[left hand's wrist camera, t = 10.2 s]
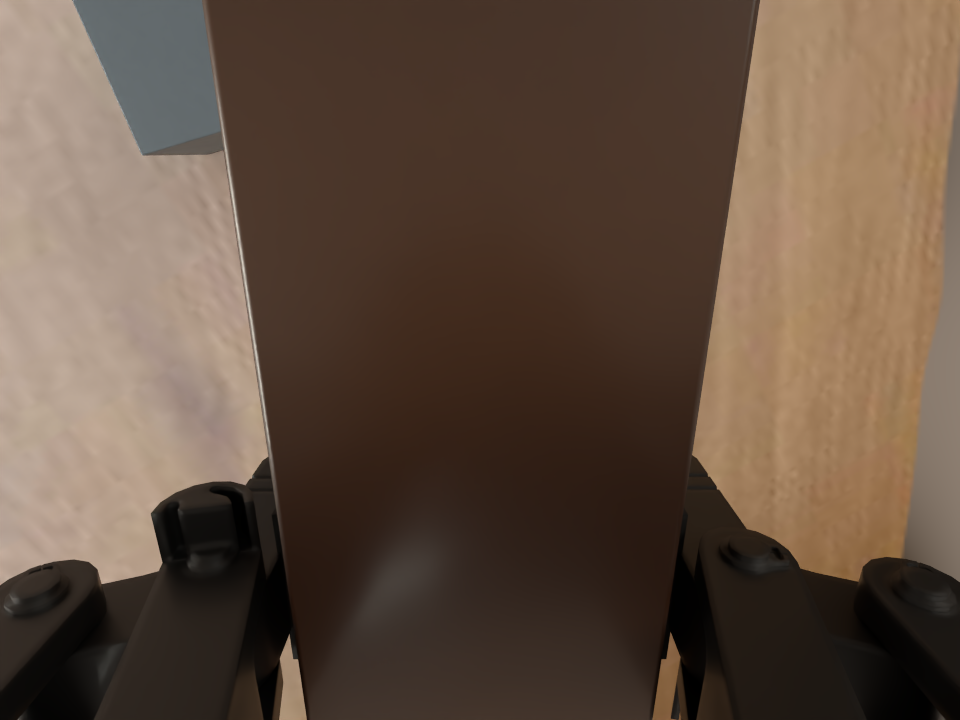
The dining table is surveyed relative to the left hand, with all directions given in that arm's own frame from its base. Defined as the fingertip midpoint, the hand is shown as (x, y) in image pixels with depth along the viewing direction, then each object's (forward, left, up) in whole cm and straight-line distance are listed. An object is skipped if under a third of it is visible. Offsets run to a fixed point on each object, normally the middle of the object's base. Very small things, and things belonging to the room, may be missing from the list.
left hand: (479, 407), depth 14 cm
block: (+9, +10, -13) cm, 18 cm away
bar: (+9, 0, 0) cm, 9 cm away
